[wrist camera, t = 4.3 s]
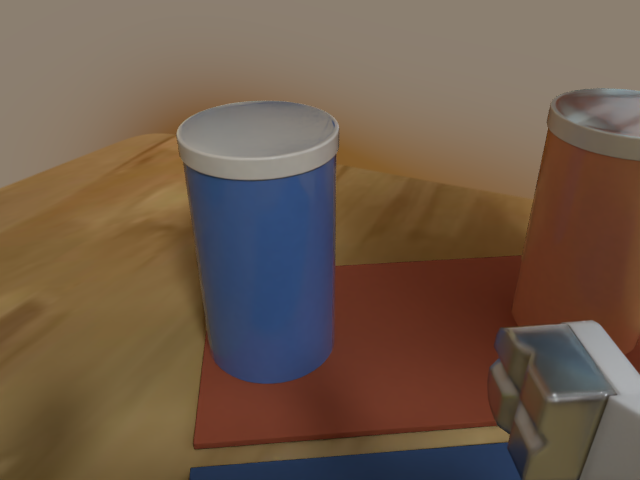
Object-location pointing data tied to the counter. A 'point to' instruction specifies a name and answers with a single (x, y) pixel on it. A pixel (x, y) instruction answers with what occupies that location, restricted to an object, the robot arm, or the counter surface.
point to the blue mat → (379, 466)
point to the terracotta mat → (380, 359)
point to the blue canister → (264, 234)
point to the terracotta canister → (586, 218)
